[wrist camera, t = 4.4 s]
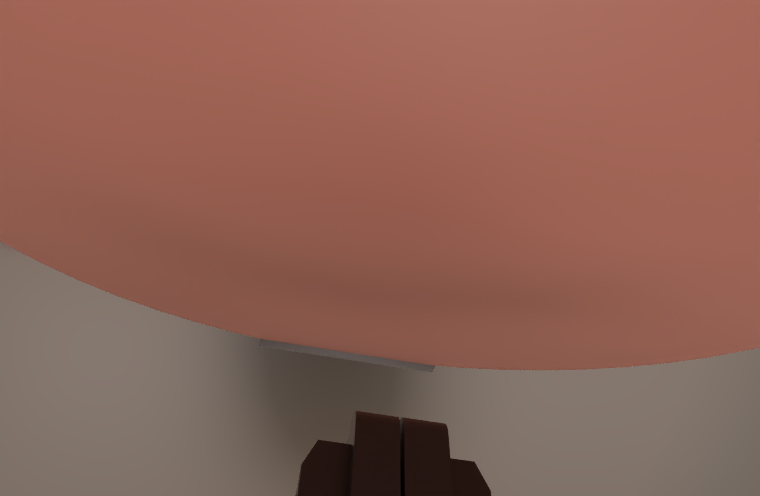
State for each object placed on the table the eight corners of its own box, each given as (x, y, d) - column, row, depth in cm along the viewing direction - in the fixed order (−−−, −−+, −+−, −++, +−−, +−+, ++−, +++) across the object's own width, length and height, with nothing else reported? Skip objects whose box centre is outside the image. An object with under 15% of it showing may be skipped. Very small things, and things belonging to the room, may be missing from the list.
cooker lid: (-1108, -1214, 3) (-1465, -1152, 3) (1980, -278, 5) (2151, -120, 4) (62, 272, 21) (48, 318, 21) (617, 361, 23) (618, 405, 22)
